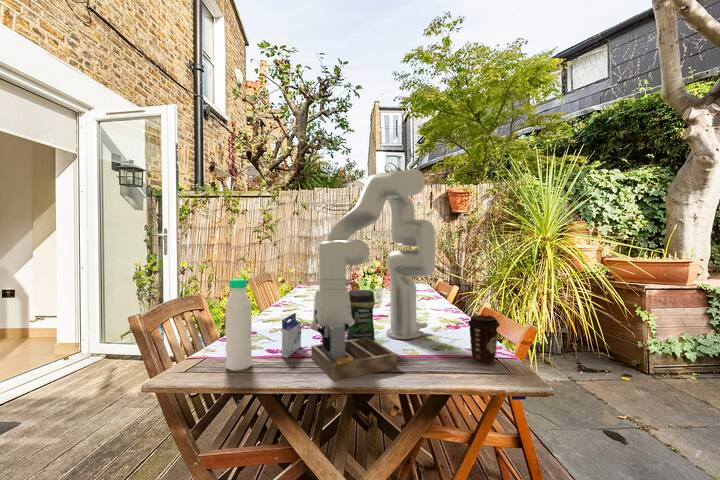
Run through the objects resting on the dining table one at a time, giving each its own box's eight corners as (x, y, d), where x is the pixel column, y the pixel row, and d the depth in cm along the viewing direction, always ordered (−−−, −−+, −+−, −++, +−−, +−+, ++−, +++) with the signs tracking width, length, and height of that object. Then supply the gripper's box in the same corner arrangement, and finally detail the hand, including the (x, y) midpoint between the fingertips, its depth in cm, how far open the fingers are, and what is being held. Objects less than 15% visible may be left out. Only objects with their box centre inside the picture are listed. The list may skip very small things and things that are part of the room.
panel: (332, 352, 108) (331, 318, 108) (345, 363, 99) (345, 326, 98) (322, 354, 106) (321, 320, 106) (334, 365, 97) (334, 328, 97)
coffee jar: (347, 348, 119) (346, 292, 118) (346, 341, 127) (345, 288, 126) (376, 347, 119) (376, 291, 119) (373, 340, 127) (373, 288, 127)
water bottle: (237, 373, 98) (236, 281, 98) (220, 368, 102) (219, 279, 101) (257, 365, 104) (256, 278, 104) (240, 360, 108) (239, 277, 107)
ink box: (288, 358, 110) (288, 320, 110) (281, 357, 110) (280, 320, 110) (302, 346, 121) (301, 312, 121) (295, 346, 122) (295, 312, 121)
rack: (367, 349, 117) (367, 334, 117) (396, 368, 101) (396, 350, 101) (311, 358, 109) (311, 342, 109) (333, 380, 93) (333, 361, 93)
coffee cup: (499, 358, 108) (499, 315, 108) (500, 368, 101) (500, 321, 100) (468, 355, 111) (468, 313, 111) (467, 364, 103) (467, 319, 103)
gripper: (353, 281, 109) (353, 341, 109) (300, 285, 102) (301, 349, 102) (364, 284, 102) (364, 348, 103) (308, 288, 95) (309, 358, 96)
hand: (333, 348), depth 103 cm, fingers closed on panel, 3 cm apart
